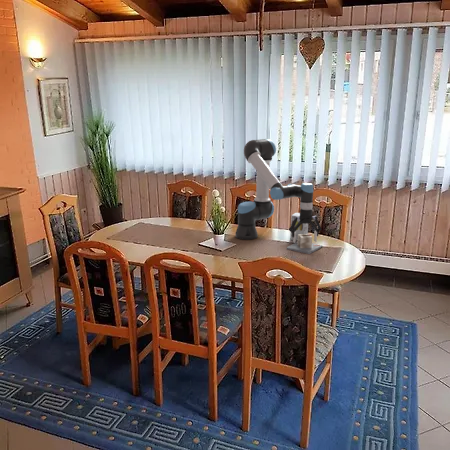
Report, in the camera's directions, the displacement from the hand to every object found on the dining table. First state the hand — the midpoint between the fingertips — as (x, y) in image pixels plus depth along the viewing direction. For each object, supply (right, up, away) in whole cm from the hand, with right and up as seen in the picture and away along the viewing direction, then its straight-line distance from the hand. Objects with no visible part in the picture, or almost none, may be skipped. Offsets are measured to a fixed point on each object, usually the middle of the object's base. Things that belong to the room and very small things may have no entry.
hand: (304, 241), depth 288 cm
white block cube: (0, -3, +1) cm, 3 cm away
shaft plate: (0, -4, +1) cm, 4 cm away
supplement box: (0, +1, +20) cm, 20 cm away
